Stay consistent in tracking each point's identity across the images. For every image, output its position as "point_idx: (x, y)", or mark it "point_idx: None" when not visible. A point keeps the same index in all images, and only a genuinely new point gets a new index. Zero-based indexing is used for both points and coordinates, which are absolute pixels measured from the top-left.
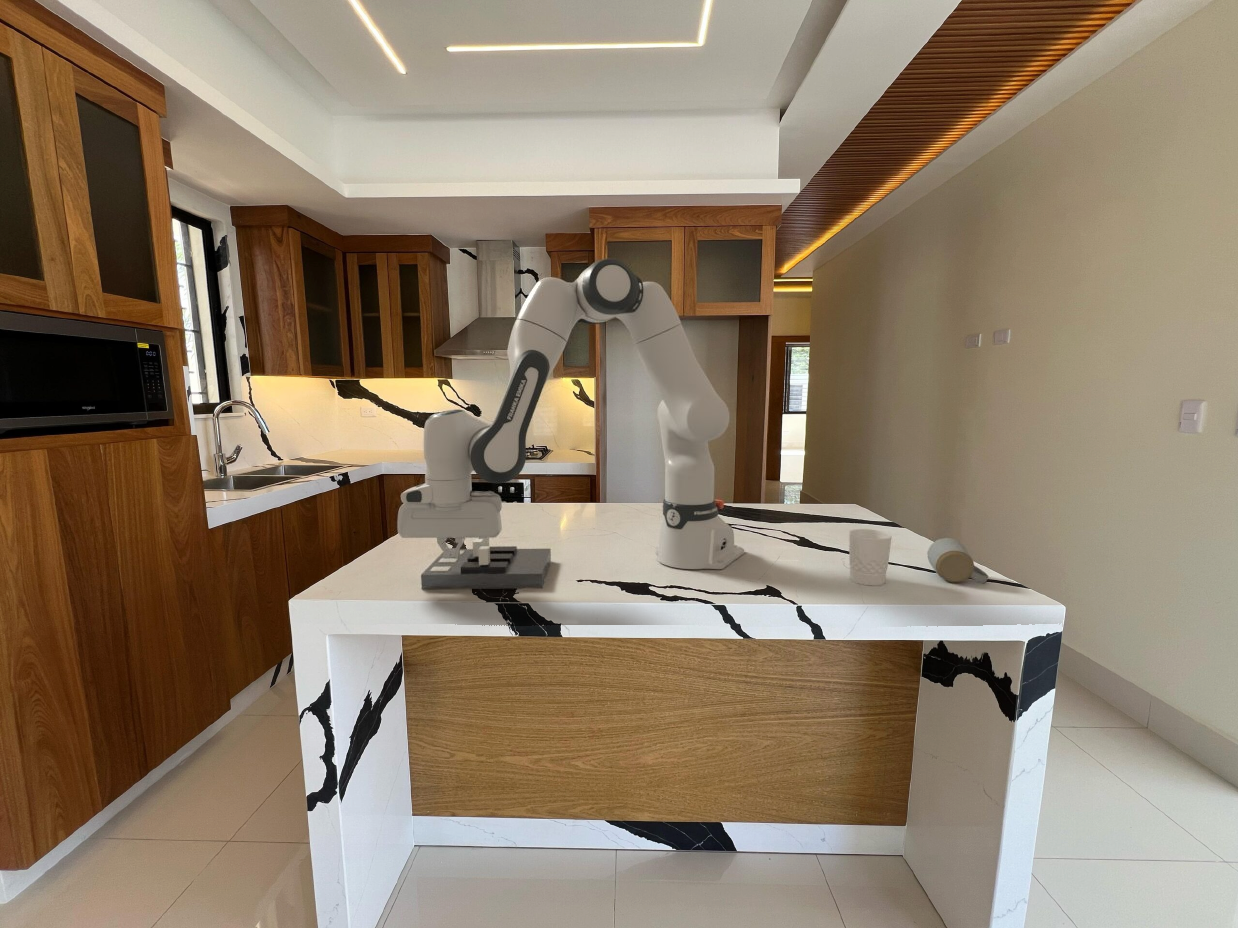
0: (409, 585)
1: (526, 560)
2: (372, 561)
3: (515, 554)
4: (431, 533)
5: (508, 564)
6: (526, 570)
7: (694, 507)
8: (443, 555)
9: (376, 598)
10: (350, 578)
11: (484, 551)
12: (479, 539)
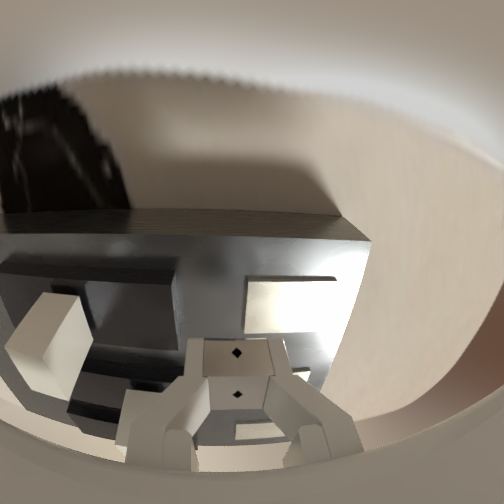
0: (383, 257)
1: None
2: (431, 383)
3: (69, 403)
4: (425, 465)
5: None
6: None
7: None
8: (285, 348)
9: (454, 154)
10: (479, 302)
11: (21, 342)
12: None
